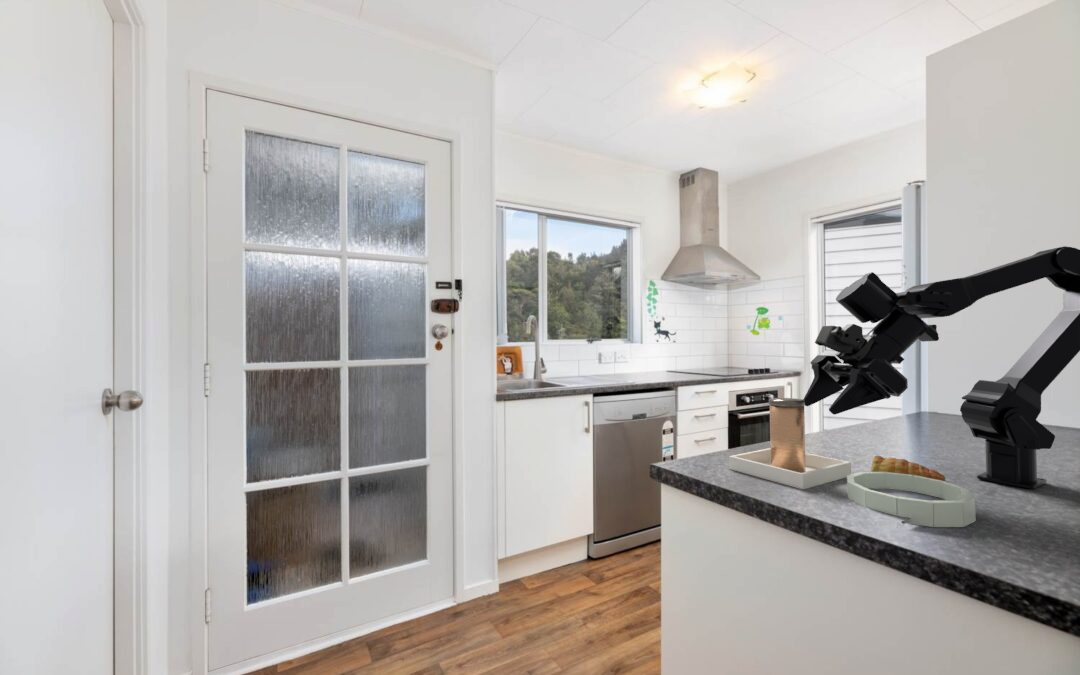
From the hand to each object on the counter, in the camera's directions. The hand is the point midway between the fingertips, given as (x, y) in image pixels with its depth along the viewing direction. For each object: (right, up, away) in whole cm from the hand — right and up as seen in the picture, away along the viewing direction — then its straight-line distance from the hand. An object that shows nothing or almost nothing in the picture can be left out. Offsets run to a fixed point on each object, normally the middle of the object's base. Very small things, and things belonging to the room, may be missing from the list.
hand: (817, 408), depth 77 cm
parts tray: (-5, -12, 0) cm, 13 cm away
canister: (-5, -11, 0) cm, 12 cm away
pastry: (+12, -12, -3) cm, 17 cm away
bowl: (+3, -11, -15) cm, 19 cm away
